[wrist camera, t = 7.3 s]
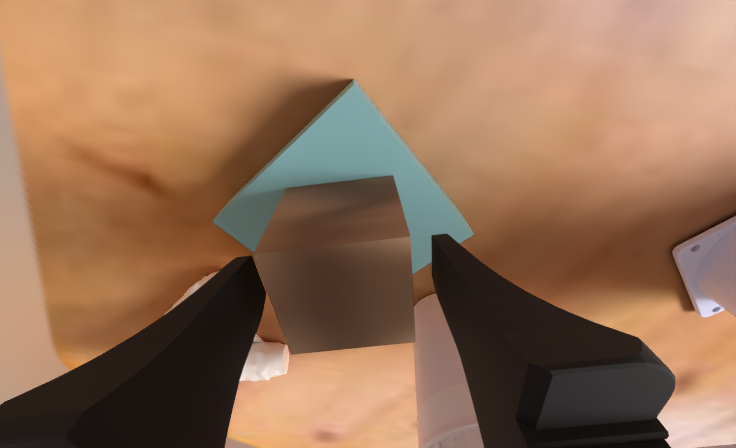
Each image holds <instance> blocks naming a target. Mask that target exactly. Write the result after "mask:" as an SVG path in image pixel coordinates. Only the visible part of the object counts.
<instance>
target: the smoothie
mask: <svg viewBox="0 0 736 448" xmlns="http://www.w3.org/2000/svg"><path fill="white" fill-rule="evenodd" d="M414 318H415V338H416V342H414V362H415V383H416V403H417V426H418V441H419V448H484V445H483V441H482V437H481V433H480V429H479V425H478V421H477V417H476V413H475V410H474V406H473V402H472V398H471V395H470V391H469V387H468V383H467V380H466V376H465V373H464V369H463V365H462V362H461V358H460V355H459V352H458V350H457V347H456V344H455V342H454V339H453V336H452V334H451V331H450V329H449V326H448V324H447V321H446V319H445V316H444V313H443V311H442V308H441V306H440V303H439V300H438V298H437V294H431V295H429V296H426V297H424V298H423V299H421V300H420V301H419V302H418V303H417V304H416V305H415V306H414Z"/></svg>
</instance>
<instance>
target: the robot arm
mask: <svg viewBox="0 0 736 448" xmlns="http://www.w3.org/2000/svg"><path fill="white" fill-rule="evenodd" d="M431 240H432V278H433V282H434V286H435V290H436V294H437V298H438V300H439V303H440V306H441V308H442V311H443V313H444V316H445V319H446V321H447V324H448V326H449V329H450V331H451V334H452V336H453V339H454V342H455V344H456V347H457V350H458V352H459V355H460V358H461V362H462V365H463V369H464V373H465V376H466V380H467V383H468V387H469V391H470V395H471V398H472V402H473V406H474V410H475V413H476V417H477V421H478V425H479V429H480V433H481V437H482V441H483V445H484V448H671V447H670V446H669V444H668V443H667V442H666V441H665V439H667V438H668V436H669V434H668V431H667V430H666V429H665V427H664V426H663V425H662V424H661V422H660V421H659V420H658V419H657V418H656V417H657V416H658V414H659V413H660V411H661V410H662V409H663V407H664V406H665V404H666V403H667V401H668V400H669V399H670V397H671V395H672V393H673V391H674V389H675V376H674V374H673V373H672V372H671V370H670V369H669V368H668V367H667V366H666V365H665V364H664V363H663V362H662V361H661V360H660V359H659V358H658V357H657V356H656V355H655V354H654V353H653V352H652V351H651V350H650V349H649V348H648V347H647V346H646V345H645V344H644V343H643V342H642V341H641V340H640V339H639V338H638V337H635V336H632V335H629V334H626V333H623V332H620V331H617V330H615V329H612V328H609V327H606V326H603V325H600V324H597V323H594V322H592V321H589V320H587V319H584V318H582V317H579V316H577V315H575V314H572V313H570V312H567V311H565V310H563V309H561V308H558V307H556V306H554V305H552V304H550V303H548V302H546V301H544V300H542V299H540V298H538V297H536V296H534V295H532V294H530V293H528V292H526V291H525V290H523V289H521V288H519V287H518V286H516V285H514V284H513V283H511V282H509V281H508V280H506V279H504V278H503V277H501V276H500V275H498V274H497V273H496V272H494V271H493V270H491V269H490V268H488V267H487V266H486V265H484V264H483V263H482V262H481V261H479V260H478V259H477V258H475V257H474V256H473V255H472V254H471V253H469V252H468V251H467V250H466V249H465V248H463V247H462V246H461V245H460V244H459V243H458V242H457V241H455V240H454V239H453V238H452V237H451V236H450V235H448V234H447V233H446V234H437V235H431ZM672 254H673V257H674V259H675V262H676V264H677V267H678V269H679V272H680V274H681V277H682V279H683V282H684V284H685V286H686V289H687V291H688V294H689V296H690V299H691V301H692V304H693V306H694V309H695V311H696V313H697V314H698V315H700V316H701V317H709V316H712V315H714V314H716V313H718V312H721V311H723V310H727V311H728V312H729V313H731V314H732V315H734V316H735V317H736V216H734V217H732V218H730V219H728V220H727V221H725V222H723V223H721V224H719V225H717V226H715V227H713V228H711V229H709V230H707V231H705V232H703V233H701V234H699V235H697V236H695V237H693V238H691V239H689V240H687V241H685V242H683V243H682V244H680V245H678V246H676V247H675V248H674V249H673V251H672ZM265 298H266V291H265V289H264V286H263V284H262V281H261V278H260V276H259V273H258V271H257V268H256V266H255V263H254V261H253V258H252V256H244V257H237V258H235V259H234V260H232V261H231V262H230V263H229V264H227V265H226V266H225V267H224V268H222V269H221V270H220V271H219V272H218V273H216V274H215V275H214V276H213V277H212V278H211V279H209V280H208V281H207V282H206V283H205V284H203V285H202V286H201V287H200V288H199V289H197V290H196V291H195V292H194V293H192V294H191V295H190V296H189V297H187V298H186V299H185V300H184V301H182V302H181V303H180V304H178V305H177V306H176V307H175V308H173V309H172V310H171V311H169V312H168V313H167V314H165V315H164V316H162V317H161V318H160V319H158V320H157V321H155V322H154V323H152V324H151V325H149V326H148V327H146V328H145V329H143V330H142V331H140V332H139V333H137V334H135V335H134V336H132V337H130V338H129V339H127V340H125V341H124V342H122V343H120V344H119V345H117V346H115V347H114V348H112V349H110V350H109V351H107V352H105V353H103V354H102V355H100V356H98V357H96V358H94V359H93V360H91V361H89V362H87V363H85V364H83V365H81V366H79V367H77V368H75V369H73V370H72V371H70V372H68V373H66V374H64V375H62V376H60V377H58V378H55V379H54V380H52V381H49V382H47V383H45V384H43V385H41V386H38V387H36V388H34V389H32V390H30V391H28V392H25V393H23V394H21V395H19V396H17V397H14V398H12V399H10V400H8V401H5V402H4V403H3V404H1V405H0V448H224V447H225V442H226V437H227V432H228V427H229V423H230V418H231V414H232V409H233V405H234V401H235V397H236V393H237V388H238V384H239V380H240V377H241V374H242V371H243V368H244V365H245V362H246V359H247V357H248V354H249V351H250V348H251V346H252V343H253V340H254V337H255V335H256V332H257V329H258V326H259V323H260V320H261V317H262V313H263V309H264V304H265ZM699 448H736V444H733V445H722V446H710V447H699Z"/></svg>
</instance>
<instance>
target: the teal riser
mask: <svg viewBox="0 0 736 448" xmlns="http://www.w3.org/2000/svg"><path fill="white" fill-rule="evenodd" d="M391 175H393V176H394V180H395V183H396V187H397V190H398V194H399V198H400V201H401V205H402V208H403V212H404V215H405V219H406V223H407V226H408V230H409V233H410V237H411V257H412V274H414V273H416V272H417V271H419V270H420V269H422V268H423V267H425V266H426V265H428V264H429V263H431V262H432V240H431V235H437V234H446V233H447V234H448V235H450V236H451V237H452V238H453V239H454V240H455V241H457V242H458V243H459V244H460V243H462V242H463V241H465V240H466V239H468V238H470V237H471V236H473V235H474V233H473V231H472V230H471V228H470V227H469V225H468V223H467V222H466V220H465V219H464V217H463V215H462V214H461V212H460V211H459V209H458V208H457V207H456V206H455V204H454V203H453V202H452V201H451V199H450V198H449V197H448V196H447V194H446V193H445V192H444V191H443V189H442V188H441V187H440V186H439V184H438V183H437V182H436V181H435V179H434V178H433V177H432V176H431V174H430V173H429V172H428V171H427V169H426V168H425V167H424V166H423V164H422V163H421V162H420V161H419V159H418V158H417V157H416V156H415V154H414V153H413V152H412V151H411V149H410V148H409V147H408V146H407V144H406V143H405V142H404V141H403V139H402V138H401V137H400V136H399V134H398V133H397V132H396V131H395V129H394V128H393V127H392V126H391V124H390V123H389V122H388V121H387V119H386V118H385V117H384V116H383V114H382V113H381V112H380V111H379V109H378V108H377V107H376V106H375V104H374V103H373V102H372V101H371V99H370V98H369V97H368V96H367V94H366V93H365V92H364V91H363V89H362V88H361V87H360V86H359V84H358V83H357V82H356V81H355V79H354V80H352V81H351V82H350V83H349V84H348V85H347V86H346V87H345V88H344V89H343V90H342V91H341V92H340V93H339V94H338V95H337V96H336V97H335V98H334V99H333V100H332V101H331V102H330V103H329V104H328V105H327V106H326V107H325V108H324V109H323V110H322V111H321V112H320V113H319V114H318V115H316V116H315V117H314V118H313V119H312V120H311V121H310V122H309V123H308V124H307V125H306V126H305V127H304V128H303V129H302V130H301V131H300V132H299V133H298V134H297V135H296V136H295V137H294V138H293V139H292V140H291V141H290V142H289V143H288V144H287V145H286V146H285V147H284V148H283V149H282V150H280V151H279V152H278V153H277V154H276V155H275V156H274V157H273V158H272V159H271V160H270V161H269V162H268V163H267V164H266V165H265V166H264V167H263V168H262V169H261V170H260V171H259V172H258V173H257V174H256V175H255V176H254V177H253V178H252V179H251V180H250V181H249V182H248V183H247V184H246V185H244V186H243V187H242V188H241V189H240V190H239V191H238V192H237V193H236V194H235V195H234V196H233V197H232V198H231V199H230V200H229V202H228V203H227V204H226V205H225V206H224V208H223V209H222V210H221V211H220V212H219V214H218V215H217V216H216V217H215V218H214V220H213V221H212V222H213V223H214V224H216V225H217V226H218V227H220V228H221V229H222V230H224V231H225V232H226V233H228V234H229V235H230V236H232V237H233V238H234V239H236V240H237V241H238V242H240V243H241V244H242V245H244V246H245V247H246V248H248V249H249V250H250V251H252V252H253V253H254V251H255V249H256V247H257V245H258V243H259V241H260V239H261V237H262V235H263V233H264V231H265V229H266V227H267V225H268V223H269V221H270V219H271V217H272V215H273V213H274V212H275V210H276V208H277V206H278V204H279V202H280V200H281V198H282V196H283V194H284V192H285V190H286V188H290V187H298V186H307V185H315V184H324V183H332V182H340V181H349V180H357V179H366V178H374V177H383V176H391Z"/></svg>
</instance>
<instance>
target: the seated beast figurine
mask: <svg viewBox="0 0 736 448" xmlns="http://www.w3.org/2000/svg"><path fill="white" fill-rule="evenodd" d="M218 272H219V271H217V272H214V273H211V274H210V275H208V276H204V277H203V278H202V279H201V280H200V281H198V282H196V283H195V284H194V285H193V286H191V287H190V288H189V289H188V290H187V292H186V293H184V295H183V297H182V298H180V299H179V300H178V301H177V302H176V303H175V304H174V305H173V306H172V308H171V309H169V310H168V311H167V312H165V314H167V313H168V312H169V311H171V310H172V309H173V308H175V307H176V306H177V305H178V304H180V303H181V302H182V301H184V300H185V299H186V298H187V297H189V296H190V295H191V294H192V293H194V292H195V291H196V290H197V289H199V288H200V287H201V286H202V285H203V284H205V283H206V282H207V281H208V280H209V279H211V278H212V277H213V276H214V275H215V274H216V273H218ZM165 314H164V315H165ZM288 363H289V351H288V345H285V344H281V342H264V341H263V340H262V339H261V338H260V337H259V336H258V335H257V334H256V335H255V337H254V340H253V343H252V346H251V348H250V351H249V354H248V357H247V359H246V362H245V365H244V368H243V371H242V374H241V377H240V380H239V381H245V380H247V381H252V382H256V381H260V380H266V381H267V380H269V379H270V378H271V377H276V376H279V375H283V374H286V372H287V369H288Z"/></svg>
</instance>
